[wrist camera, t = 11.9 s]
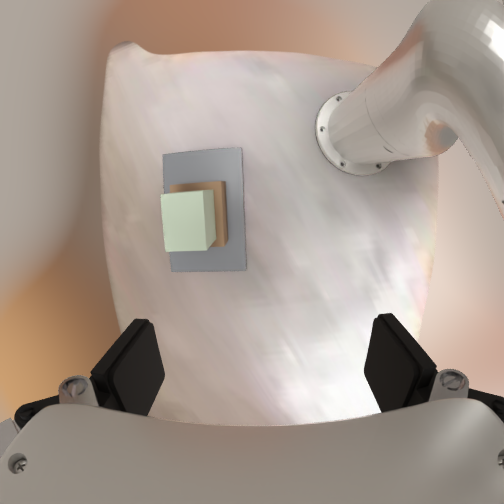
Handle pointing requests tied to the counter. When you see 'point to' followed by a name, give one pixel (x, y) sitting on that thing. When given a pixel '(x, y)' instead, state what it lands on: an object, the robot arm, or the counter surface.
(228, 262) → the slate baseplate
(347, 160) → the robot arm
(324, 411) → the counter surface
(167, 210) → the sage block
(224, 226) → the walnut base block
